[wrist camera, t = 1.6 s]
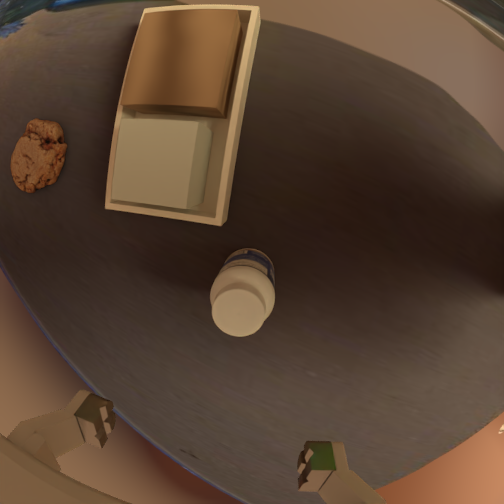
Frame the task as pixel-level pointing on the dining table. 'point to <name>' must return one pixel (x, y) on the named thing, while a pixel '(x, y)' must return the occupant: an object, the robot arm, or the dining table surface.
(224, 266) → the pill bottle
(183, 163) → the pale green block
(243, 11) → the box
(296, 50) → the dining table surface
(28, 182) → the cookie
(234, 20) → the walnut block
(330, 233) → the dining table surface
